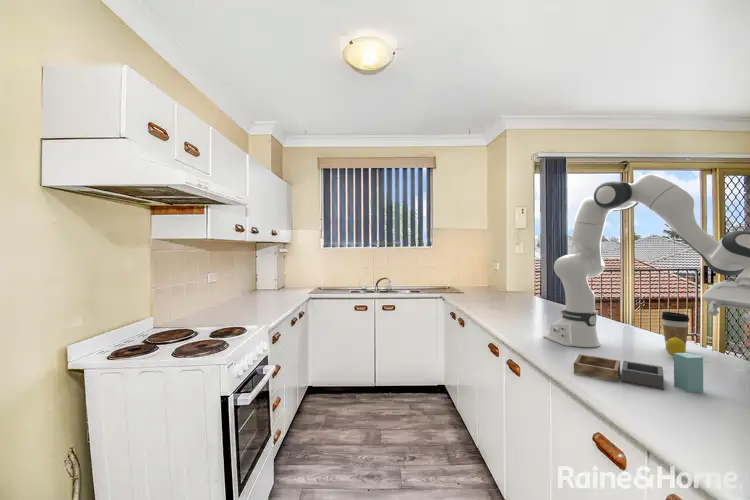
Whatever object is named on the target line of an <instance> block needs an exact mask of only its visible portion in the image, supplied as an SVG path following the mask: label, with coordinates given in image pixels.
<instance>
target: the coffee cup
mask: <svg viewBox="0 0 750 500" xmlns="http://www.w3.org/2000/svg"><path fill="white" fill-rule="evenodd" d="M661 319H662V328H663V336H664V337H663V338H664V343H665V344H664V345H665V346H666V343H667V341H668V340H669V339H670V338H674V337H677V338H679V339H680V340H682V341H683V342H684V344H685V347H687V341H688V340H687V339H688V332H689V326H688V324H689V322H690V318H689V315H688V314H686V313H680V312H673V311H662V313H661Z"/></svg>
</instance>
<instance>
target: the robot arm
mask: <svg viewBox="0 0 750 500" xmlns="http://www.w3.org/2000/svg"><path fill="white" fill-rule="evenodd" d="M639 204H640V205H643V206H644V207H646V208H647V209H648V210H650V211H651V212H653V213H654V214H655V215H656V216H657V217H658V218H660V219H661V220H662V221H663V222H664V223H665V224H666V225H667V226H668V227H669V228H670V229H671V230H672V232H674V234H675V235H677V236H678V237H679V238H680V239H681V241H682V240H683V242H685V244H687V245H688V246H689V247H690V248H691V249H693V250H694V251H695V252H696V254H697V253H698V254H699V256H700V257H701V258H702V260H703V261H704V263H705V265H706V266H707V267H708V268H709V270H711V271H712V272H714V273H716V274H718V275H722V276H729V277H731V276H733V277H734V276H737V275H738V276H737V277H736V278H735V279H734V280H723V281H718V282H716V283H714V284H713V285H711V287H709V288H708V289H707V290H706V291H705V292H704V293H703V294H702V299H703V300H704V301H705V302H706V303H707V304H708V305H709V309H708V310H707V314H708V315H710V316H714V317H716V316H718V314H719V313H720V311H719V310H718V309H720V308H721V307H725V308H733V309H739V310H745V311H750V231H748V230H744V229H743V230H733V231H730V232H727V233H725V234H724V235H723V236H722V238H721V239H720V240H719V241H717V240H716V239H715V238H713V237H712V236H711V235H710V234H709V233H707V232H706V231H705V230H704V229H702V227H701V226H700V225H699V224H698V222H697V219H696V211H695V209H696V203H695V199H694V197H693V196H692V195H691V194H690V192H688V191H687V190H686V189H685V188H682V187H681V186H679V185H678V184H676V183H674V182H673V181H671V180H668V179H666V178H665V177H662V176H659V175H656V174H654V173H648V174H645V175H642V176H640V177H638V178H637V179H636V180H635V181H634V182H633V183H631V182H627V181H618V180H617V181H613V180H612V181H605V182H603V183H601V184H600V185H598V186H597V187H596V188H595V189H594V192H593V196H588V197H585V198H583V199H582V201H581V202H580V204H579V207H578V210H577V212H576V214H575V218H574V223H573V229H572V233H571V237H570V238H571V241H572V243H573V245H574V254H565V255H562V256H561V257H558V258H557V259H556V260H555V262H554V263H553V271H554V273H555V275H556V276H557V277H558V278H559V279H560V281H561V283H562V285H563V286H562V287H563V289H564V295H565V297H564V298H565V301H564V302H565V309H564V310H560V311H559V312H560V314H562V316H561V318H559V319H558V320H556V321H555V322H552V323H551V324H550V327H549V331H548V333H545V334H543V338H545V339H547V340H549V341H553V342H555V343H557V344H560V345H563V346H567V347H580V348H598V347H600V346H601V343H600V340H599V336H598V333H597V332H598V331H597V326H596V324H597V311H596V297H595V295H596V294H595V292H594V291H593V290H592V289H591V287H590V285H589V284H590V283H589V281H588V279H593V278H596V277H599V276H600V275H601V274H603V272H604V271H605V268H606V263H605V261H604V260H603V258H602V248H601V245H602V239H603V235H604V231H605V226H606V222H607V217H608V216H609V214H610V213H612V211H613V212H617V211H624V210H630V209H632V208H635V207H636V206H638V205H639ZM741 320H743V321H744V322H747V323H750V312H749V313H746V312H745V313H743V315H741Z"/></svg>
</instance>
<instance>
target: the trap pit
mask: <svg viewBox="0 0 750 500" xmlns="http://www.w3.org/2000/svg"><path fill="white" fill-rule="evenodd" d="M622 362H623V363H622V366H621V382H622V383H625V384H631V385H635V386H641V387H647V388H650V389H651V388H652V389H657V390H662V391H664V390H665V389H664V388H665V387H664V386H665V385H664V384H665V383H664V382H665V380H664V379H665V378H664V377H665V375H664V368H663V366H661V365H660V366H659V365H655V364H654V365H653V364H646V363H642V362H641V363H640V362H634V361H628V360H623V361H622Z"/></svg>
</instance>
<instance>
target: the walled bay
mask: <svg viewBox="0 0 750 500" xmlns="http://www.w3.org/2000/svg"><path fill="white" fill-rule="evenodd" d="M620 373H621V360H619V359H613V358H606V357H601V356H593V355H587V354H582V353H579V354H578V356H577V357H576V359H575V361H574V362H573V375H577V376H578V375H579V376H583V377H588V378H594V379H598V380H599V379H600V380H604V381H609V382H615V383H618V382H619V377H620Z"/></svg>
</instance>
